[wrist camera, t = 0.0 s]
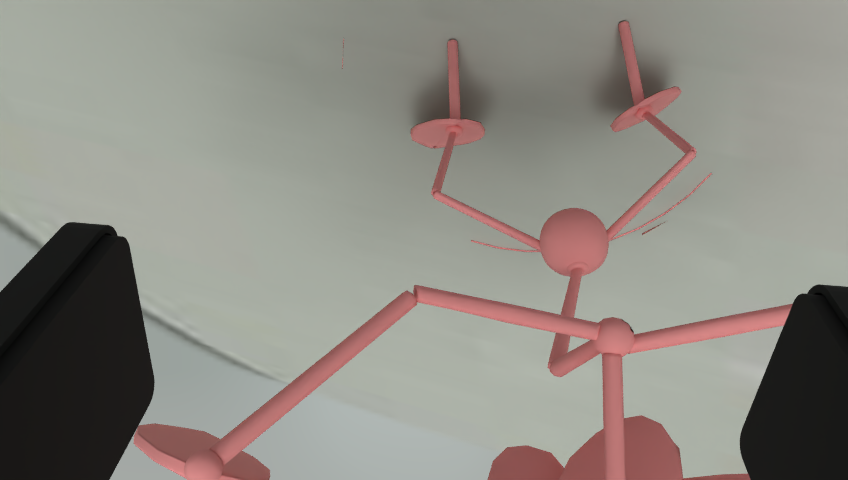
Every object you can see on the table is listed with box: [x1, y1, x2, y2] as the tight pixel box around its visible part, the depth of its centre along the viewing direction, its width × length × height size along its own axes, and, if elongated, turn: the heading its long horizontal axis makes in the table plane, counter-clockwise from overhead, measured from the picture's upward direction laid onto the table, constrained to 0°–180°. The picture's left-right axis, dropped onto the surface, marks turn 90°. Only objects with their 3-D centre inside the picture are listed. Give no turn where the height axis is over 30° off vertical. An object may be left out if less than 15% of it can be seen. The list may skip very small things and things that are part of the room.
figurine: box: [134, 21, 793, 480], centre depth 28 cm, size 15×26×35 cm, turn 97°
